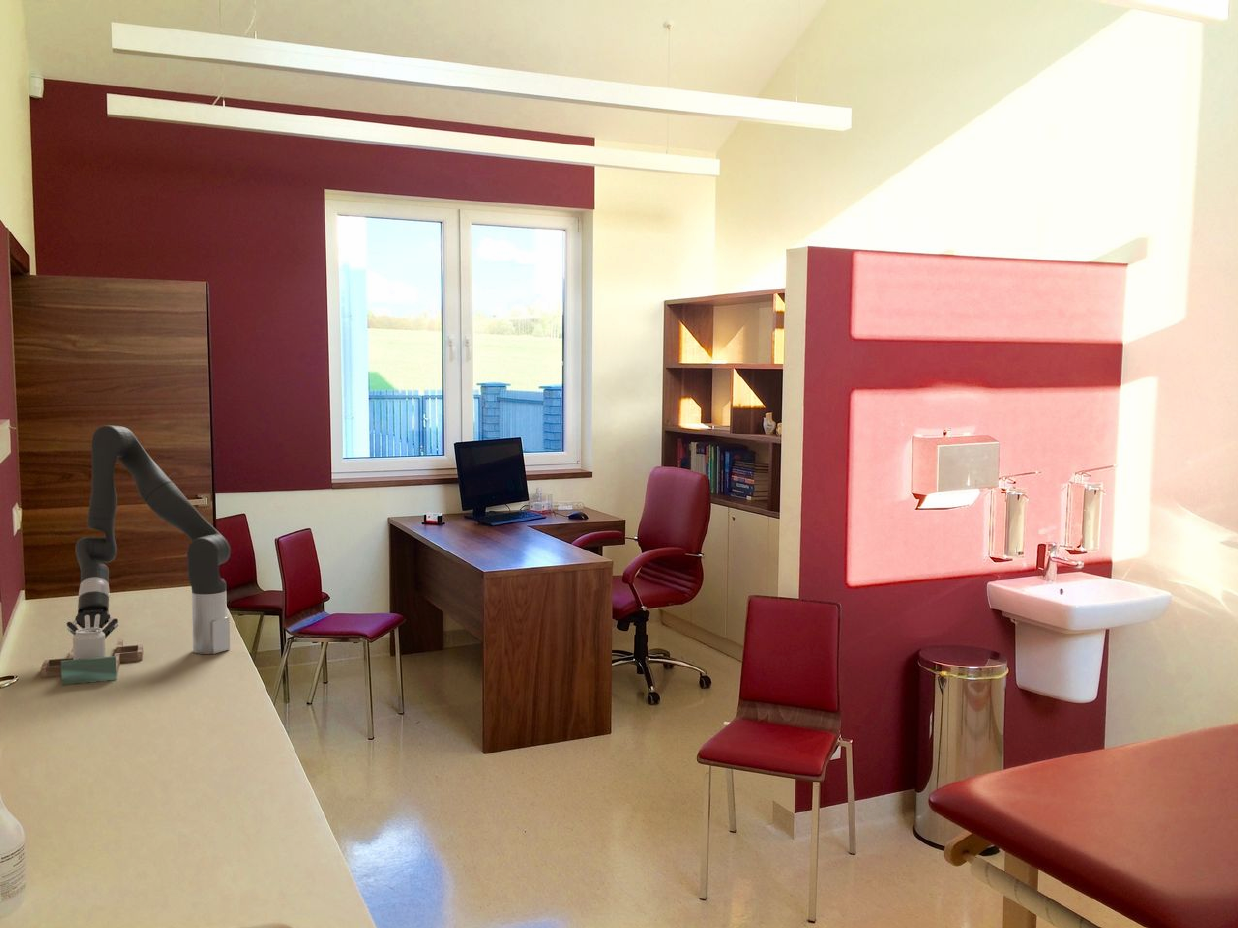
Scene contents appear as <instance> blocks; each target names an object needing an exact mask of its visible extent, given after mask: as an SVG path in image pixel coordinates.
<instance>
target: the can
mask: <svg viewBox="0 0 1238 928" xmlns="http://www.w3.org/2000/svg"><path fill="white" fill-rule="evenodd" d="M78 629H79V628H78ZM102 630H103V628H102V629H101V628H84V629H82V628H80V629H79V630H77V631H76V632H75V633H76V634H75V636H74V635H73V637H72V648H73V656H74V660H77V659H88V658H100V657H107V654H106V653H107V652H106V649H107V648H106V639H105V634H104V633H103V632H102Z"/></svg>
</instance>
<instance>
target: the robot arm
mask: <svg viewBox="0 0 1238 928" xmlns="http://www.w3.org/2000/svg"><path fill="white" fill-rule="evenodd" d="M90 445H91V446H90V447H91V449H90V450H91V490H90V499H89V506H88V511H87V519H86V526H87V527H88V528H90V529H92V530H95V531H99V532H102V533H103V534H104V537H96V536H95V537H94V536H93V537H92V536H83V537H81V538H80V539H78V540H77V542H76V544H75V549H74V550H75V555H76V559H77V563H78V564H79V568H80V584H79V585H80V586H79V590H78V601H77V602H78V604H77V614H76V616H75V617H74V618H75V619H74V620H72V621H67V622H66V628H67V631H69V632H70V633H71V634H72V635H73V637H74V636H75V634H76V633H75V632H76V631H77V630H79V628H78V626H79V627H80V629H84V628H101V629H102V632H103V633H104V634H105V640H106V639H107V637H109V635H110V634H112V632H113V631H115V630H116V629H117V627H118V626H119V620H118V618H113V617H111V614H110V597H111V595H110V585H109V584H110V583H109V581H110V569H109V566H107V565H106V564H107V563H111V562H113V561H114V560H115V558H116V557H117V555H118V554H117V553H118V548H117V542H116V538H115V537H116V535H115V520H116V515H117V507H118V493H117V489H116V485H115V484H116V483H115V467H116V463H117V461H118V462H120V463H121V465H123V467H124V468H125V469H126V470H127V471H128V472H129V473H130V474H131V476H132V478H133V480H134V484H135V485H136V488H137V491H138V493H139V495H140V497H141V499H142V500H143V502H145V504H146V505H147V506H148V507H149V509H151V511H152V512H153V513H154V514H155V515H156V516H157V517H159V519H162V520H163V521H165V522H166V523H168V524H170V526H171V525H172V526H174V527H175V528H176V529H178V530H179V531H181V532H182V533H184V534H185V535H186V537H188V538H189V540H190V541H191V542H190V543H189V545H188V547H187V552H186V562H187V563H186V564H187V566H186V567H187V578H188V579H187V580H188V583H189V585H190V587H191V609H192V610H191V611H192V619H191V620H192V649H193V650H192V651H193V653H195V654H199V655H200V654H201V655H202V654H203V655H207V654H209V655H210V654H211V655H216V654H218V653H221V652H226V651H229V650H231V631H230V630H231V629H230V628H231V626H230V625H231V623H230V617H229V616H228V608H227V603H228V602H227V597H228V595H227V581H226V580H225V579H224V578H222V577H221V575H220V568H219V566H220V565H223V564H225V563H226V562H228V560H229V559H230V557H231V553H232V552H231V551H232V548H231V546H230V543H229V541H228V540H227V538H225V536H224V535H222V534H221V533H220V531H218V530H217V529H216V528H215V527H214V526H213V525H212V524H211V523H210V522H208V521H207V519H206V518H205V517H203V515H202V514H201V513H200V512H199V511H198V510H197V508H196V507H195V506H194V505H193V504H192V503H191V501H189V499H188V498H187V497H186V496H185V494H183V492H182V491H181V490H180V489H179V487H178V486H177V485H176V483H174V481H172V480H171V479H170V477H169V476H167V474H166V473H165V472H164V470H163V469H162V468H161V467H160V466H159V465H158V464H157V463H156V462H155V461H154V460H153V459H152V457H151V456H150V455H149V454H148V453H147V451H146V449H145V448H144V447H143V445H142V444H141V442H140V441H139V440H138V438H137V436H136V435H135V433H133V431H132V430H131V429H129V428H127V427H125V426H121V425H113V424H112V425H106V424H105V425H102V426H99V427H98V428H96V430H94V432H93V434H92V436H91V444H90ZM105 563H106V564H105ZM105 626H106V627H105Z"/></svg>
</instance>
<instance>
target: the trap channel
mask: <svg viewBox="0 0 1238 928" xmlns="http://www.w3.org/2000/svg"><path fill="white" fill-rule="evenodd" d="M143 660H144V644H133V645H124V639H123V638H118V639H117V643H116V651H115V653H114V655H113V656H106V657H100V658H88V659H77V660H74V656H73V647H72V648H71V650H70V652H69V656H68V657H62V658H53V659H52V658H51V659H44V660H43V663H42V664H41V667H40V677H41V678H51V677H60V676H61V686H67V685H66V684H70V685H76V684H75V683H80V684H87V683H86V682H90V683H97V682H96V681H100V682H108V681H107V680H111V681H117V680H118V673H119V669H120V663H129V662H139V661H143Z"/></svg>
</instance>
